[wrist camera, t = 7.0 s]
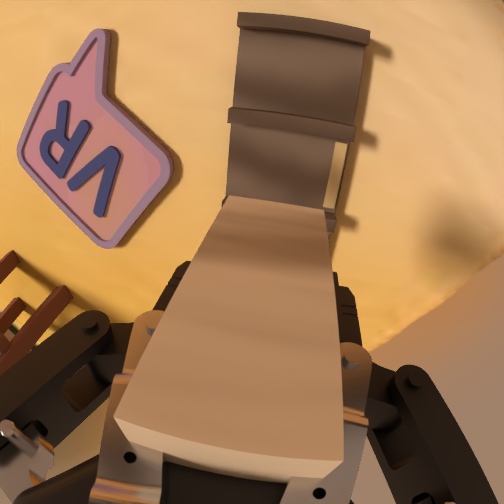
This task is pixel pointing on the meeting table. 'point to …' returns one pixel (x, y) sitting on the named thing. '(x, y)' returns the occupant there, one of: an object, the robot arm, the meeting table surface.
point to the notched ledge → (293, 109)
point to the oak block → (246, 352)
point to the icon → (92, 148)
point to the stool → (34, 324)
